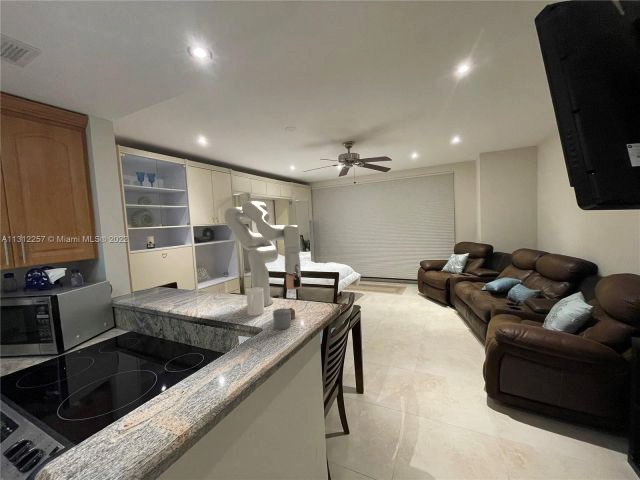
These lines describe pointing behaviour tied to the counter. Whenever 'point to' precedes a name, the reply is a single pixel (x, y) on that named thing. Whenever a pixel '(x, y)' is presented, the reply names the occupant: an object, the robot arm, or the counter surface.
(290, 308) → the letter cube
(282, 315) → the cup charcoal
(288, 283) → the cup terracotta
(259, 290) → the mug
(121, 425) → the counter surface
